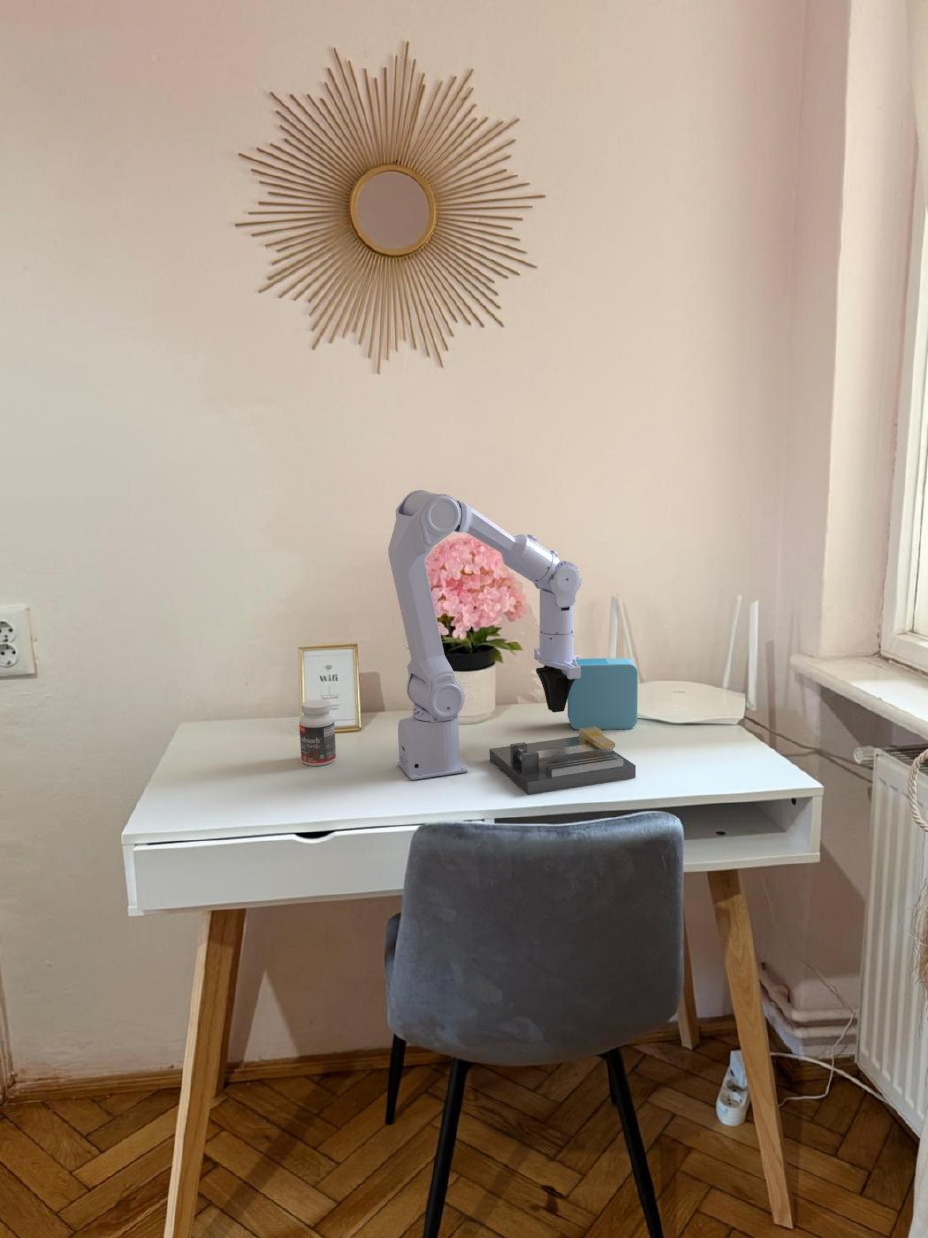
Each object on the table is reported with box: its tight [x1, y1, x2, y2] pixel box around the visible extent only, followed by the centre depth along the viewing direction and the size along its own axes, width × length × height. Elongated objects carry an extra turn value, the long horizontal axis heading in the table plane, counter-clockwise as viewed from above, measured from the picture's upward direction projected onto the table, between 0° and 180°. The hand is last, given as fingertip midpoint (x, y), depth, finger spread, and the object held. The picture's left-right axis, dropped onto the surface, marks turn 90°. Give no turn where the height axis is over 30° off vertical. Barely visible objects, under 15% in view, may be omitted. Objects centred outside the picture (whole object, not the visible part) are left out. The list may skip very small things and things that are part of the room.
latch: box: [578, 726, 616, 749], centre depth 159 cm, size 3×7×3 cm, turn 19°
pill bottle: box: [298, 699, 337, 767], centre depth 165 cm, size 6×6×10 cm
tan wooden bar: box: [517, 743, 614, 762], centre depth 157 cm, size 15×3×1 cm, turn 109°
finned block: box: [489, 735, 637, 796], centre depth 159 cm, size 18×16×5 cm
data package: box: [567, 657, 639, 731], centre depth 179 cm, size 12×4×12 cm, turn 89°
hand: (556, 710), depth 168 cm, fingers closed
